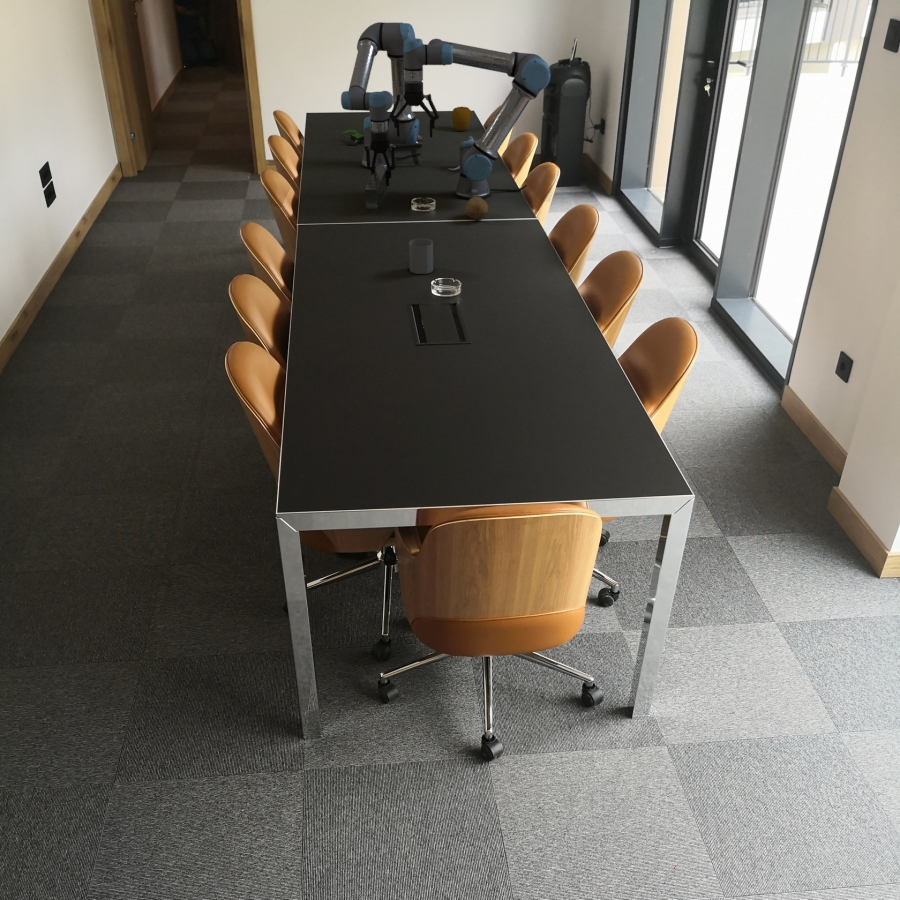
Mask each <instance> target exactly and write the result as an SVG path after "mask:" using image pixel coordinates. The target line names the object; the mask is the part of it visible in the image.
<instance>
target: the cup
mask: <svg viewBox="0 0 900 900" xmlns="http://www.w3.org/2000/svg"><path fill="white" fill-rule="evenodd" d="M408 253H409V272H411V273H412V274H416V275H426V274H430V273H432V272H434V241H433V240H431V239H428V238H422V237H421V238H420V237H419V238H414V239H411V240H410V241H409V242H408Z"/></svg>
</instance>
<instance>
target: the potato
mask: <svg viewBox="0 0 900 900" xmlns="http://www.w3.org/2000/svg"><path fill="white" fill-rule="evenodd" d="M488 211H489V205H488V203H487V201H485V199H484V198H479V197H473V198H471V199H468V201H467V202H466V204H465V207H464V212H465V214H466V215H467V217H468V218H471V219H472V220H482V219H483V218H484V217H486V216H487V214H488Z"/></svg>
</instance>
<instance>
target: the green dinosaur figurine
mask: <svg viewBox="0 0 900 900" xmlns="http://www.w3.org/2000/svg"><path fill="white" fill-rule="evenodd" d="M349 132H352V133H351V134H349V136H350V138H349V140H350V141H353V142H348V141H345V140H342V139H340V142H342V143H344V144H345V145H349V146H356V145H358V144H360V143H362V142H364V133H362V132H359V131H358V130H357V129H346V130H345V131H342V132H340V134H345V133H349Z"/></svg>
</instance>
